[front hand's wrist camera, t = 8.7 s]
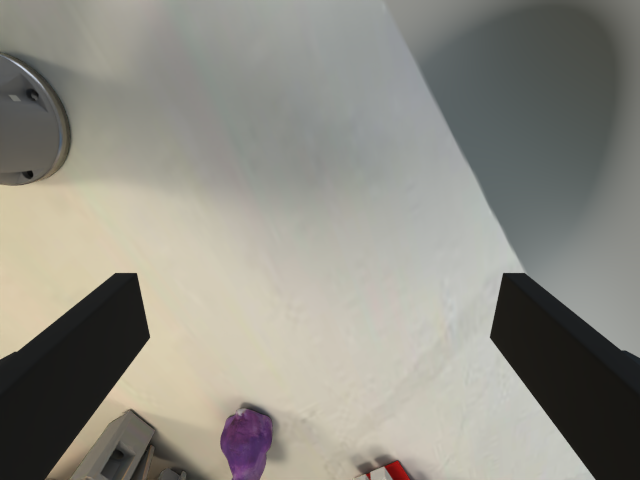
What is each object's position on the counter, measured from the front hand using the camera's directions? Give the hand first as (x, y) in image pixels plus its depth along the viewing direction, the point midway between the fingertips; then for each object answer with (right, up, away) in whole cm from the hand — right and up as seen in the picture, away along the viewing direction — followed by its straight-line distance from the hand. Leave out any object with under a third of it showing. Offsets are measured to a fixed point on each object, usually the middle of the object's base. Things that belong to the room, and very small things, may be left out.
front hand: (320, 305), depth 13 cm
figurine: (-12, -30, +48) cm, 58 cm away
